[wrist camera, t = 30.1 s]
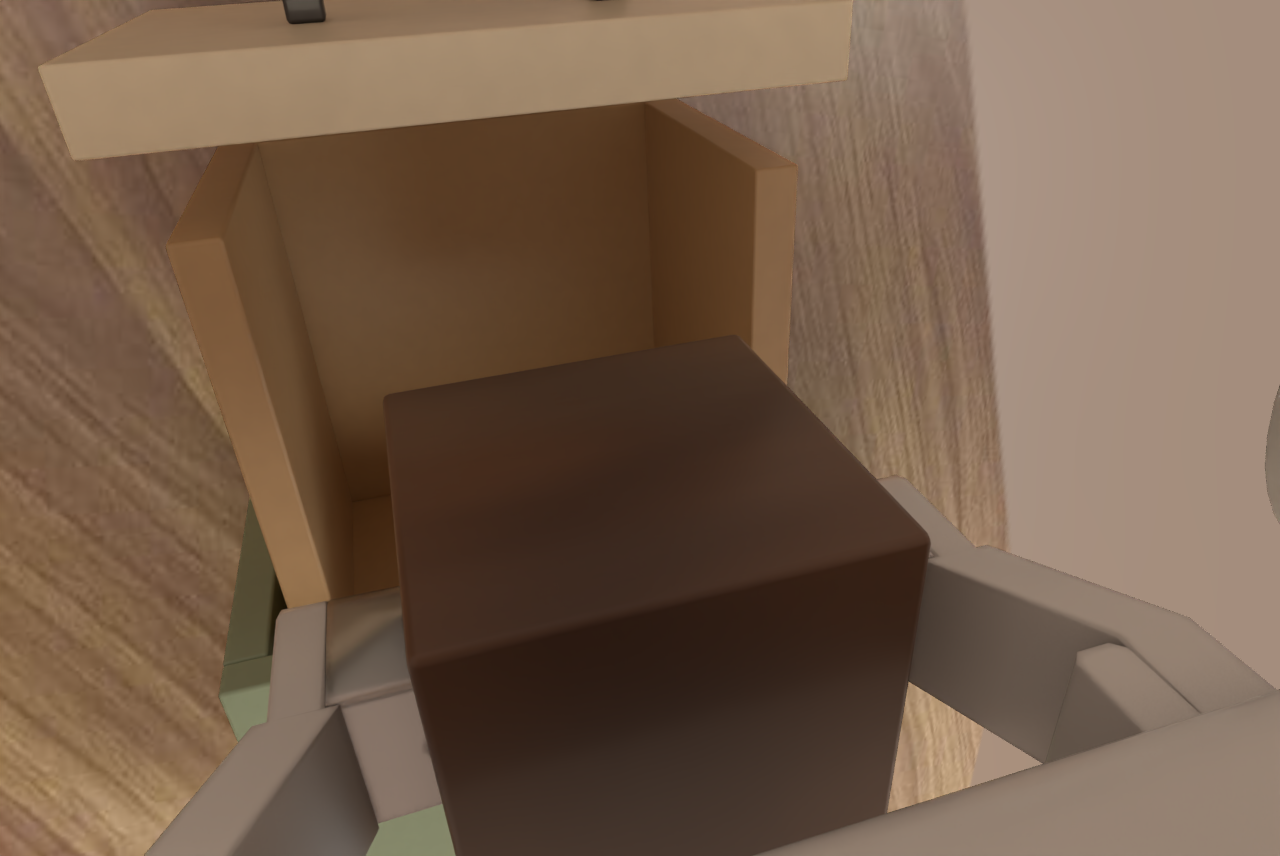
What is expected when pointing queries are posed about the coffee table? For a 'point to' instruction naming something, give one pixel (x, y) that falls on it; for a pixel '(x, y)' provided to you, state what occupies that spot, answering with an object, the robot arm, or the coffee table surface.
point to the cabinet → (403, 847)
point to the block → (648, 607)
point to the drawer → (444, 211)
